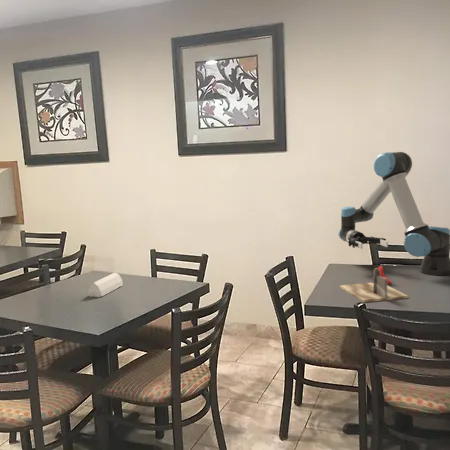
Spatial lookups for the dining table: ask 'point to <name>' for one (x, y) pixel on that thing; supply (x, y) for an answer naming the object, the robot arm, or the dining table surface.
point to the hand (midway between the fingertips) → (374, 245)
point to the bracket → (383, 274)
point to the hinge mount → (373, 290)
